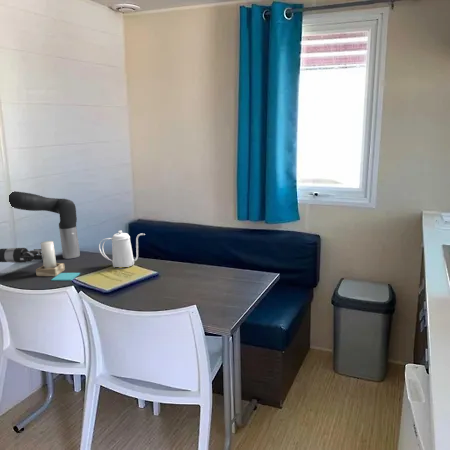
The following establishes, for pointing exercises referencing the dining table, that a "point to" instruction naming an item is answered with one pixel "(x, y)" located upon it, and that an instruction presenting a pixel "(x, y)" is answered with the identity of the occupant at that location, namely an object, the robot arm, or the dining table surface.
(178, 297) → the dining table surface
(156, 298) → the dining table surface
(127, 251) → the coffeepot
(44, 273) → the holder
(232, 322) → the dining table surface
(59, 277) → the mat
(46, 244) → the white cylinder
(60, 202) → the robot arm
